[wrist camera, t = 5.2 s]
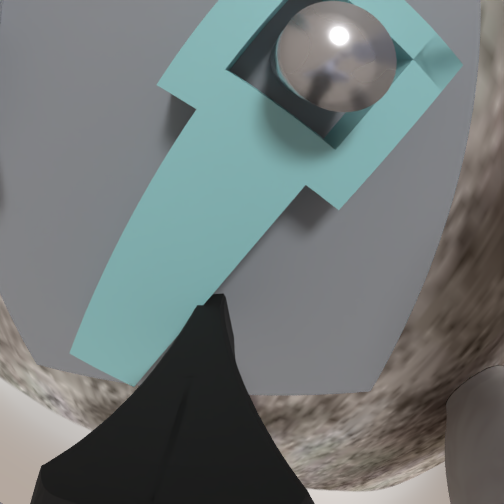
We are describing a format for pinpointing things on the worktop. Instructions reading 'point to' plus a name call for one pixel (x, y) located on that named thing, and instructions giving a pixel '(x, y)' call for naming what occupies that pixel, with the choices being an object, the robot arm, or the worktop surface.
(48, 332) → the board
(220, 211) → the link
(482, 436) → the mug
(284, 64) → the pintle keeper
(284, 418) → the worktop surface
